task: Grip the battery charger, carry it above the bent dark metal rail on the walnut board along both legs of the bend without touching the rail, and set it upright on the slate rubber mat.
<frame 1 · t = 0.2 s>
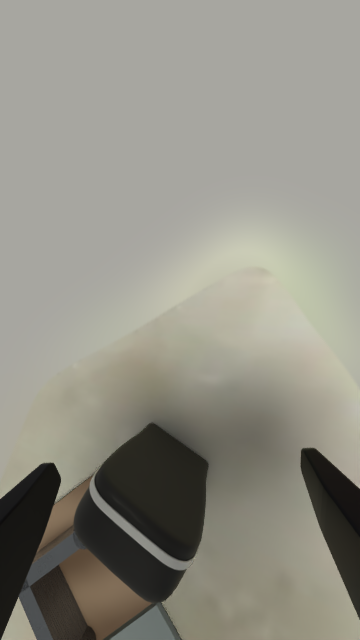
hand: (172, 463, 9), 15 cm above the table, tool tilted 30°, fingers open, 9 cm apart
rail board: (91, 553, 23), on the table
battery charger: (169, 457, 23), on the table
bent rail: (84, 589, 20), on the rail board, point 3 cm above the table
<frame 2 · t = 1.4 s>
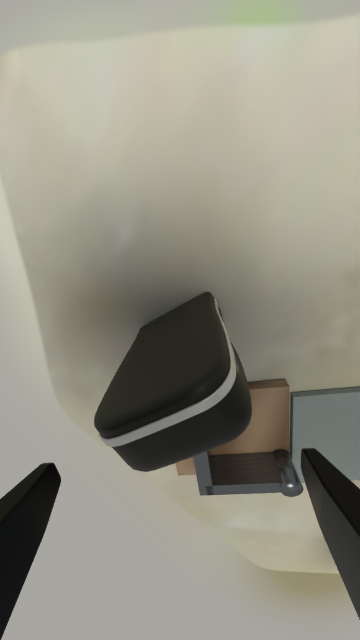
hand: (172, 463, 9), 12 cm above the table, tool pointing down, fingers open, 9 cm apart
rail board: (226, 427, 24), on the table
battery charger: (184, 326, 20), on the table
bent rail: (242, 447, 21), on the rail board, point 3 cm above the table
end mat: (339, 435, 23), on the table
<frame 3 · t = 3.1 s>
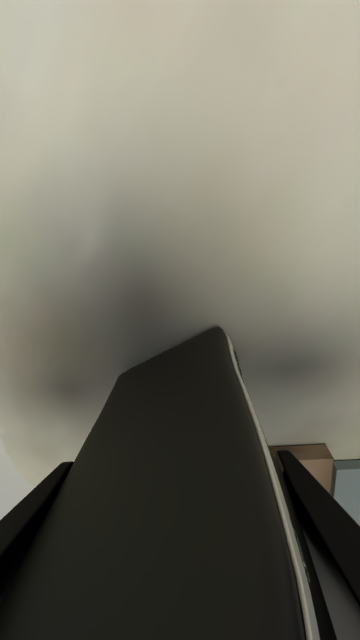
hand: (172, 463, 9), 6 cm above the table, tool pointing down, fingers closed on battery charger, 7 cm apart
rail board: (240, 499, 17), on the table
battery charger: (183, 372, 14), on the table, touching gripper
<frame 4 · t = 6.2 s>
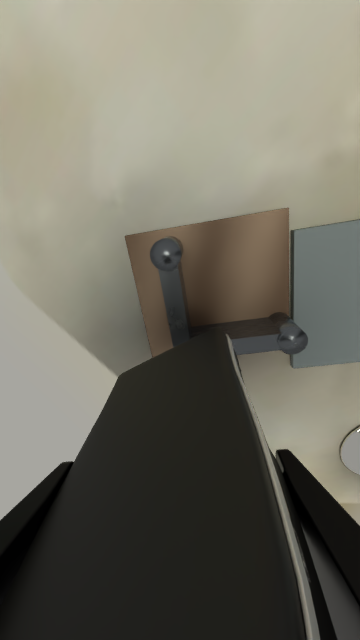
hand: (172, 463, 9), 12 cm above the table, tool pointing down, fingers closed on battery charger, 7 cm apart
rail board: (211, 290, 19), on the table
battery charger: (183, 372, 14), point 7 cm above the table, touching gripper
bent rail: (229, 293, 16), on the rail board, point 3 cm above the table
end mat: (352, 296, 19), on the table
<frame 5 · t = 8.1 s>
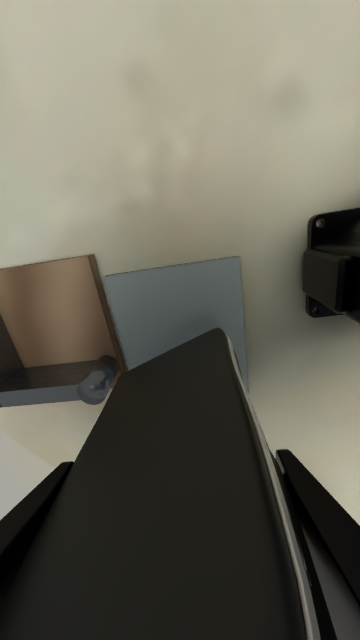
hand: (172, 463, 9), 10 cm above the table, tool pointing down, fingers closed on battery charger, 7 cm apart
rail board: (43, 331, 19), on the table
battery charger: (183, 372, 14), point 5 cm above the table, touching gripper
bent rail: (34, 341, 16), on the rail board, point 3 cm above the table
end mat: (182, 339, 18), on the table
when the fingers open (7 cm above the table, at t = 9.7 s): battery charger stays where it is, resting on end mat.
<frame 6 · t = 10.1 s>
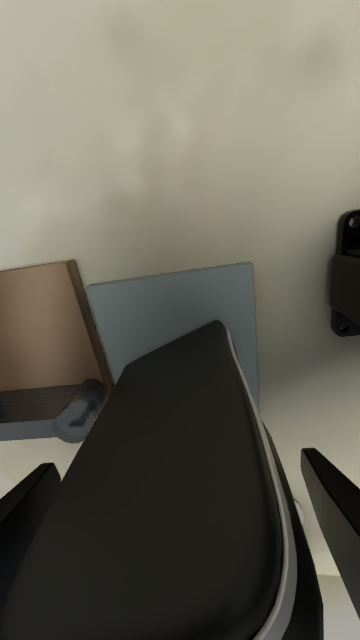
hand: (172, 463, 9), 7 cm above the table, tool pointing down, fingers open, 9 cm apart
rail board: (18, 349, 16), on the table
battery charger: (185, 363, 15), resting on end mat
bent rail: (2, 365, 13), on the rail board, point 3 cm above the table
end mat: (182, 359, 15), on the table
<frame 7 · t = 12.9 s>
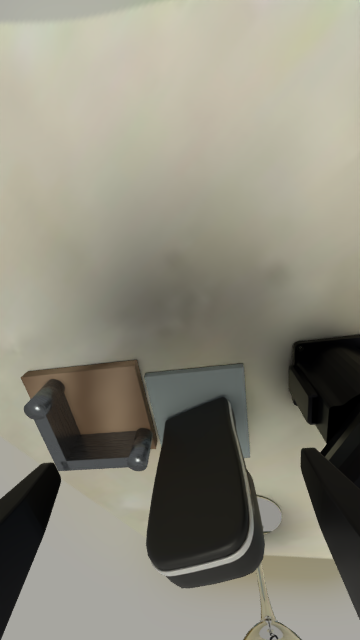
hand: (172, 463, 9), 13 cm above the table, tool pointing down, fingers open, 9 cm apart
rail board: (95, 407, 25), on the table
battery charger: (202, 418, 24), resting on end mat
bent rail: (95, 424, 22), on the rail board, point 3 cm above the table
end mat: (200, 415, 24), on the table
wineglass: (249, 513, 30), on the table
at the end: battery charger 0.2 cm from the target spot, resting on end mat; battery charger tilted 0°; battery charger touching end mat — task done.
